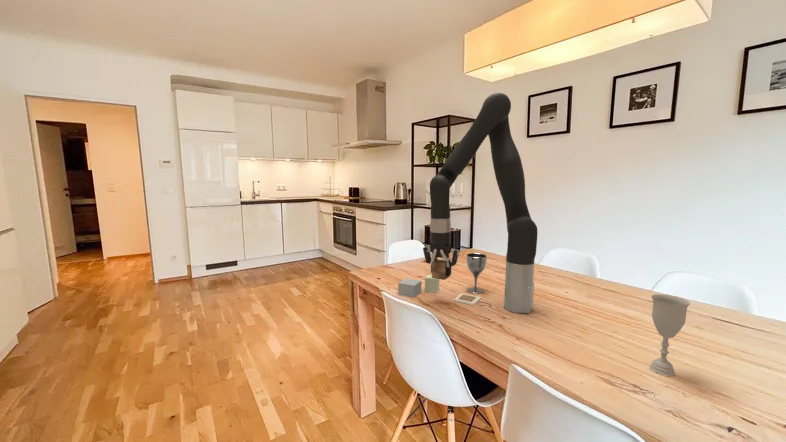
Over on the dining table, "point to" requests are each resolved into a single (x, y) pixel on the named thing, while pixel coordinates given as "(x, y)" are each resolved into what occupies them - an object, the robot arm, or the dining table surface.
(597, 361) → the dining table surface
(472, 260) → the wine glass
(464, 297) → the tile
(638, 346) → the dining table surface
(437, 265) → the walnut block
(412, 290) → the grey base block
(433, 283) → the sage block
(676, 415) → the dining table surface
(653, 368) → the chalice
